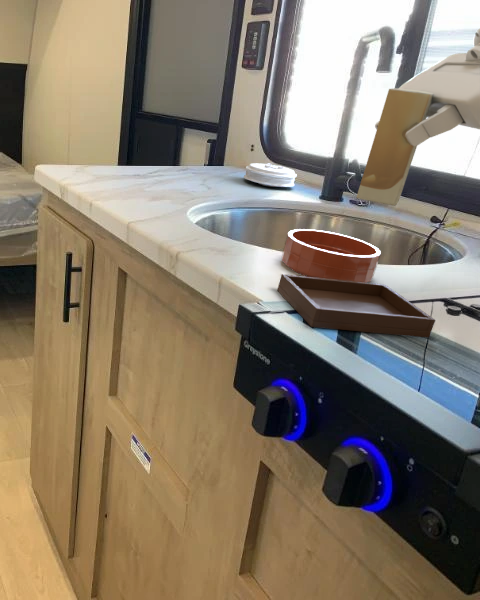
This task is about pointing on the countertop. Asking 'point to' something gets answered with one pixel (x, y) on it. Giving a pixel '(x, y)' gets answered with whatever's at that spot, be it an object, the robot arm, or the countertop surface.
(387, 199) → the cosmetic box
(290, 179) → the lid
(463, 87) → the robot arm
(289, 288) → the tray
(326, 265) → the bowl
